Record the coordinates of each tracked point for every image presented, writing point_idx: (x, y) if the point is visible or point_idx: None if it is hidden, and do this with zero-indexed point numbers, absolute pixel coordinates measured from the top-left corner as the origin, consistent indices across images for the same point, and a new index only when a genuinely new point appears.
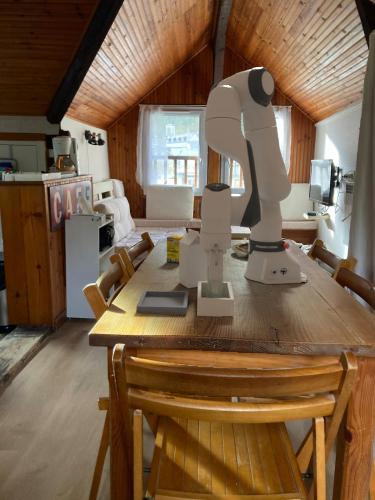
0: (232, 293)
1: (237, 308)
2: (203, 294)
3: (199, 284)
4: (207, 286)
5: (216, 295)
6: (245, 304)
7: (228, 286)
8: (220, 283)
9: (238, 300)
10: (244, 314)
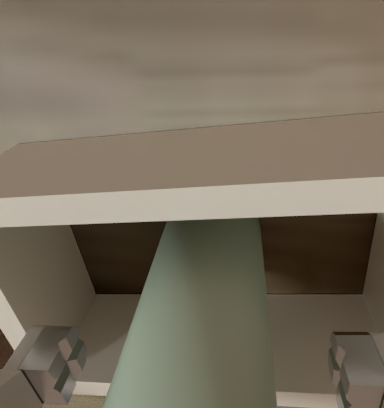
0: (299, 184)
1: (239, 78)
2: (85, 298)
3: (106, 390)
4: (52, 324)
5: (265, 288)
6: (132, 6)
7: (71, 219)
8: (251, 361)
9: (59, 74)
10: (381, 9)
